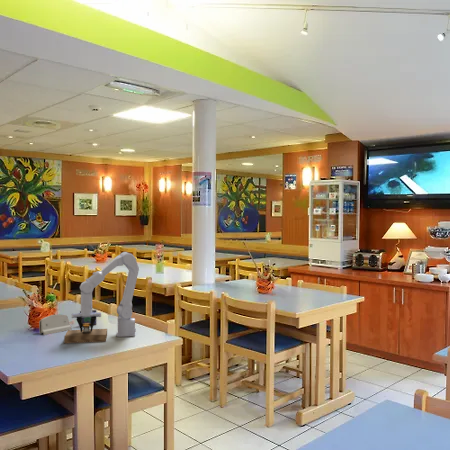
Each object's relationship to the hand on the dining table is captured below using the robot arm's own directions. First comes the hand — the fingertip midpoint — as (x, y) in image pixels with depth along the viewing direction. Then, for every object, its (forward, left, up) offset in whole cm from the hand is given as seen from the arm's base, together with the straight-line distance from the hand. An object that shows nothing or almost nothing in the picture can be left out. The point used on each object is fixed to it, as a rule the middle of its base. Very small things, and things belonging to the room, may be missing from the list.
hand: (86, 331), depth 234 cm
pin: (0, +1, -2) cm, 2 cm away
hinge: (+19, -20, -4) cm, 27 cm away
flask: (+2, -29, -4) cm, 29 cm away
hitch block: (0, 0, -4) cm, 4 cm away
